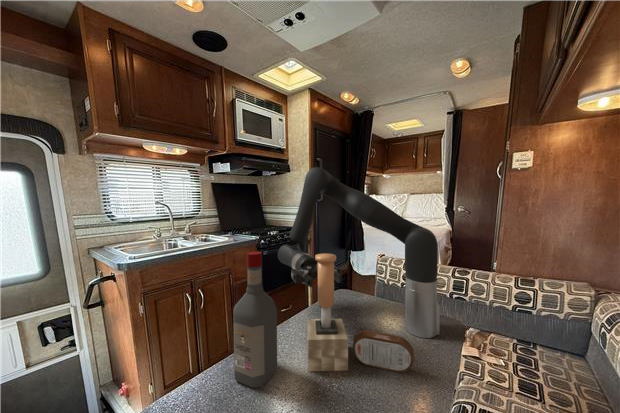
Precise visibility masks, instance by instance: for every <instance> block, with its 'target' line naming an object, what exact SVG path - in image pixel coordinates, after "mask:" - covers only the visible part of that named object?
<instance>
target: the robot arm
mask: <svg viewBox="0 0 620 413" xmlns="http://www.w3.org/2000/svg"><path fill="white" fill-rule="evenodd" d="M303 182H304V183H303V187H302V193H301V196H300V201H299V206H298V210H297V212H296V216H295V219H294V221H293V224H292V227H291V230H290V232H289V235H288V236H289V239H290V240H291V241H293V242H295V244H296V243H297V246H293V245H290V244H289V245H288V244H283V245H282V246H280V247H279V249H278V251H277V258H278V260H279V261H280V263H282V264H284V265H286V266H288V267H290V268H291V270H290V271H291V273H290V274H291V277H290V278H291V279H292V280H293V282H294V284H296V285H298V284H301V283H302V284H304V285H305V286H308V287H309V288H313V285H314V280H317V279H318V261H316V260H315V257H314V256H313V255H311V254H309V253H307V252H306V245H307V240H308V236H309V234H310V232H311V229H312V225H313V221H314V213H315V212H314V211H315V206H316V203H317V200H318V198H319V196H320V195H323V196H325V197H327V198H329V199H331V200H333V201H334V202H336V203H337V204H339V205H340V206H341V208H343V209H344V210H345V211H346V212H347V213H349V214H350V215H351V216H353V217H354V218H355V219H357V220H359V221H361V222H362V223H363V224H365V225H367V226H370V227H371V228H374V229H376V230H379V231H382V232H385V233H386V234H389V235H390V236H392V237H394V238H395V239H397V240H398V241H400V242H401V243H403V244H404V270H405V307H404V308H405V317H404V318H405V320H404V323H405V325H404V326H405V330H406V331H407V332H408V333H409V334H411V335H412V336H416V337H418V338H423V339H425V338H426V339H431V338H435V337H436V336H439V335H440V331H441V330H440V328H441V327H440V326H441V325H440V320H441V318H440V317H441V316H440V315H441V314H440V312H441V311H440V310H441V307H440V304H439V303H438V301H437V300H438V265H439V264H438V261H439V260H438V256H439V255H438V254H439V250H438V246H439V244H438V241H437V237H436V235H435V233H434V232H433V231H432V230H430V229H429V228H426V227H424V226H421V225H419V224H416V223H415V222H412V221H410V220H408V219H406V218H405V217H402V216H400V215H399V214H397V213H396V212H395V211H393V209H391V208H389V207H388V206H386V205H385V204H383V203H382V202H381V201H379V200H378V199H375V198H373V197H372V196H370V195H368V194H366V193H364V192H362V191H360V190H358V189H355V188H352V187H349V186H348V185H345V184H344V183H342V182H341V181H340V180H338V179H337V178H335V177H334V176H333V175H332V174H331V173H329V171H327V170H325V169H324V168H322V167H318V166H315V167H312V168H310V169H309V170H308V171H307V173H306V175H305V178H304V181H303ZM334 282H336V283H338V284H340V283H342V282H343V275H342V269H341V267H338V266H337V265H334Z"/></svg>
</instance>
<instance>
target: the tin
mask: <svg viewBox="0 0 620 413" xmlns="http://www.w3.org/2000/svg"><path fill="white" fill-rule="evenodd" d="M352 351H353V354H354V356H355V358H356V359H357V361H359V362H360V363H361V364H363V365H365V366H369V367H372V368H376V369H381V370H385V371H386V370H387V371H390V372H395V373H400V374H401V373H406V372H407V371H410V370H411V369H412V368H413V366H414V362H415V352H414V349H413V346H412V345H411V343H410V342H409V341H408V340H407V339H406V338H404V337H402V336H399V335H395V334H390V333H385V332H379V331H373V330H367V329H364V330H360V331H358V332H357V333H356V334H355V335H354V337H353V342H352Z"/></svg>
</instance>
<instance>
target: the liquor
mask: <svg viewBox="0 0 620 413" xmlns="http://www.w3.org/2000/svg"><path fill="white" fill-rule="evenodd" d="M246 267H247V287H246V292H245V293H244V295H243V296H242V297H241V298H240V299H239V300H238V302H237V303H236V304H235V305H234V307H233V310H232V311H233V313H232V314H233V315H232V316H233V319H232V320H233V364H234V365H233V366H234V367H233V368H234V369H233V370H234V372H233V374H234V380H235V381H236V382H238V383H240V384H242V385H243V386H244V385H245V386H247V387H249V388H252V389H254V388H258V387H262V386H264V385H265V384H266V383H267V382H268V381H269V380H270V379H271V377H272V376H273V375H274V374H275V373H276V372H277V369H278V315H277V314H278V309H277V308H278V307H277V306H276V303H275V302H274V299H273V298H272V297H271V296H269V295H268V293H266V291H264V287H263V277H262V276H263V275H262V274H263V273H262V271H263V270H262V269H263V268H262V267H263V252H262V251H255V250H254V251H249V252H247V253H246Z"/></svg>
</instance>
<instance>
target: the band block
mask: <svg viewBox="0 0 620 413" xmlns="http://www.w3.org/2000/svg"><path fill="white" fill-rule="evenodd" d="M346 331H347V330H346V328H345V325H344V322H343V319H342V318H331V329H321V318H311V319H307V371H308V372H327V371H329V372H331V371H333V372H334V371H336V372H339V371H349V339H348V335H347V332H346Z"/></svg>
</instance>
